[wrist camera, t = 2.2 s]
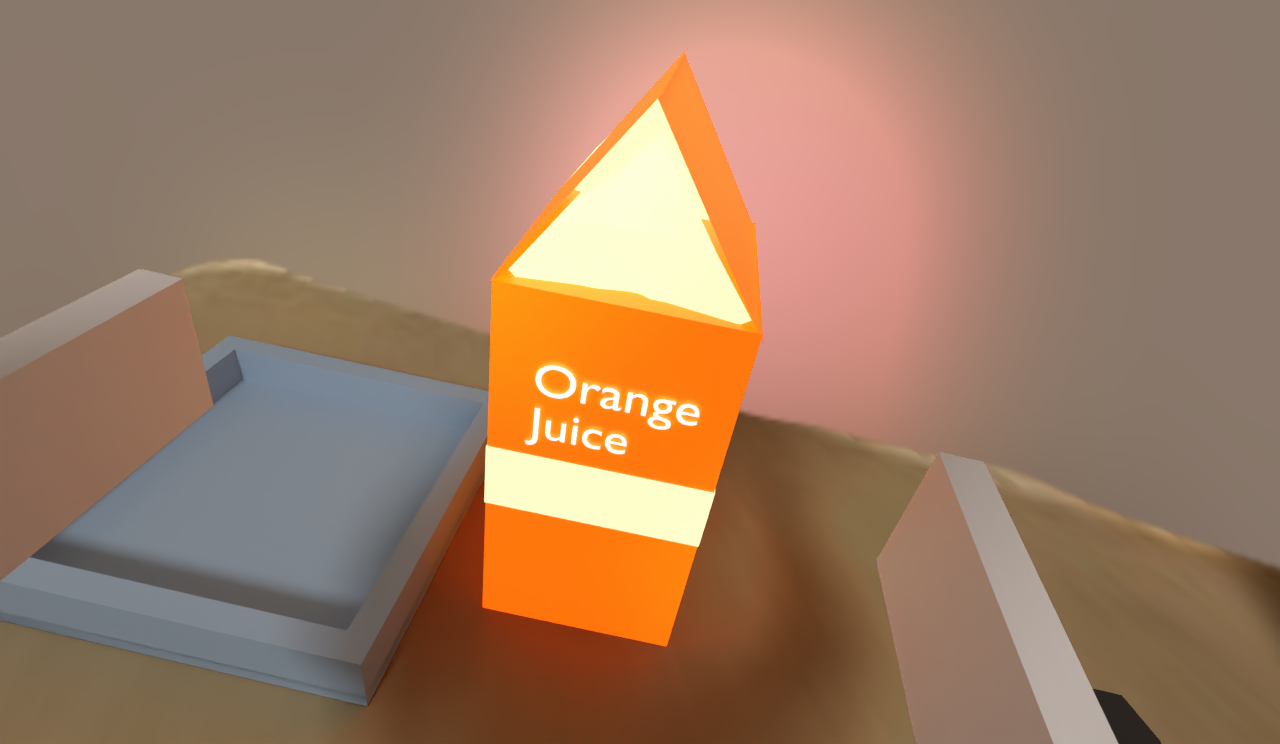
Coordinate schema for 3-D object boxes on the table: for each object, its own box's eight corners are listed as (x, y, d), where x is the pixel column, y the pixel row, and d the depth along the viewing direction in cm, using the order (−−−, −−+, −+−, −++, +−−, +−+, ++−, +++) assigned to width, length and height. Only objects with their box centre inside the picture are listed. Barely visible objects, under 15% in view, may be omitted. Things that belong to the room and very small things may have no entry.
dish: (507, 432, 34) (509, 395, 33) (367, 706, 22) (360, 664, 20) (238, 374, 35) (229, 335, 33) (-50, 608, 22) (-84, 561, 21)
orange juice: (684, 492, 32) (800, 69, 21) (669, 649, 25) (834, 127, 14) (535, 461, 33) (572, 25, 22) (476, 608, 25) (488, 59, 14)
